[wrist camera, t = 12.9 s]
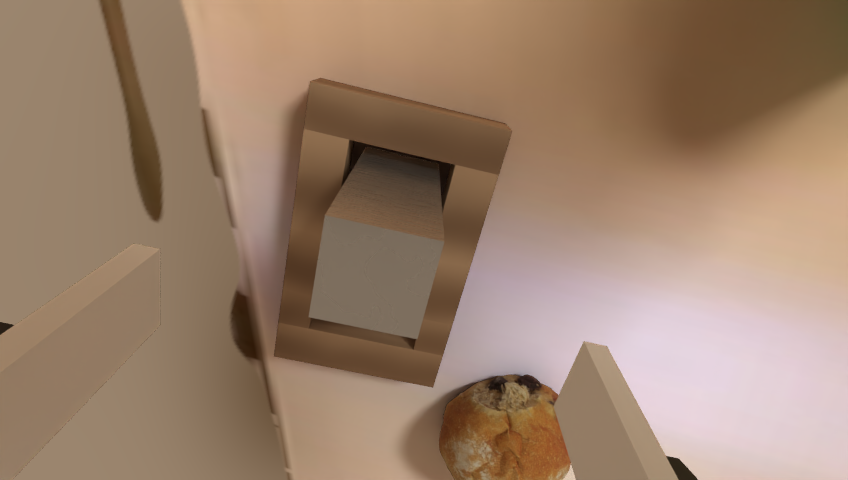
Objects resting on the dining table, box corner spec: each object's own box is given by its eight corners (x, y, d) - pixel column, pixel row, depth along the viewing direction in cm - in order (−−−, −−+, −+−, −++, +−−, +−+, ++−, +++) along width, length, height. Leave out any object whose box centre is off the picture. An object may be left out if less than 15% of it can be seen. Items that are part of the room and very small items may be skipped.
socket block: (320, 78, 26) (309, 81, 24) (505, 123, 27) (512, 131, 25) (284, 334, 33) (273, 356, 31) (432, 364, 34) (432, 387, 32)
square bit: (366, 146, 28) (325, 215, 17) (438, 163, 28) (444, 241, 17) (353, 214, 30) (308, 317, 19) (421, 229, 30) (417, 339, 19)
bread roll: (427, 389, 40) (403, 486, 34) (495, 343, 33) (478, 458, 27) (521, 434, 42) (512, 534, 36) (605, 401, 35) (609, 519, 29)
